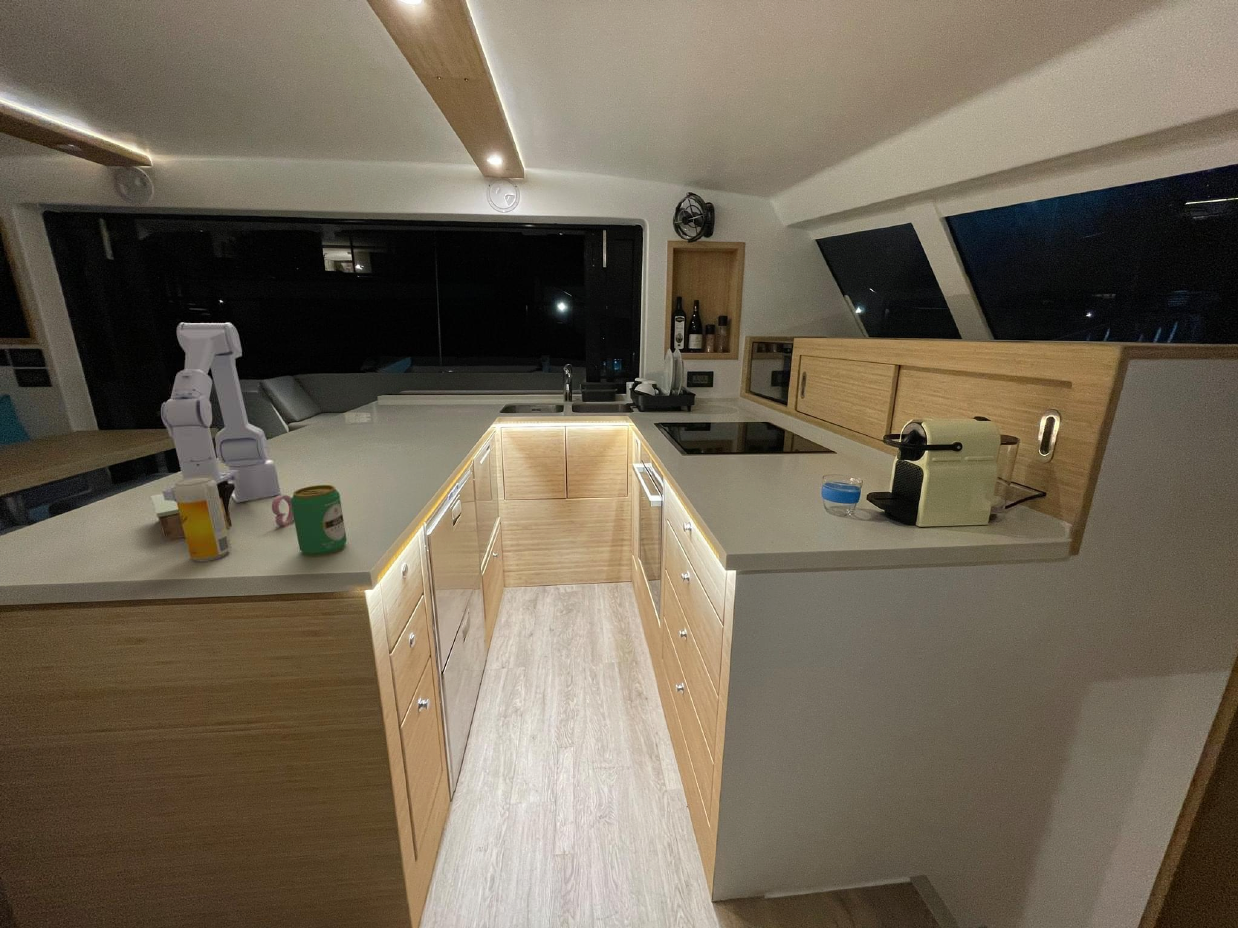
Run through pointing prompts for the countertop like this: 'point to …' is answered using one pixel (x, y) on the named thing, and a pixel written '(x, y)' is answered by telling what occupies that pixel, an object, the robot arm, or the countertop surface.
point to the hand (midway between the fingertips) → (212, 522)
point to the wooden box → (176, 525)
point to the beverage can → (318, 520)
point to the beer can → (202, 518)
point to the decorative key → (279, 515)
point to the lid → (164, 506)
